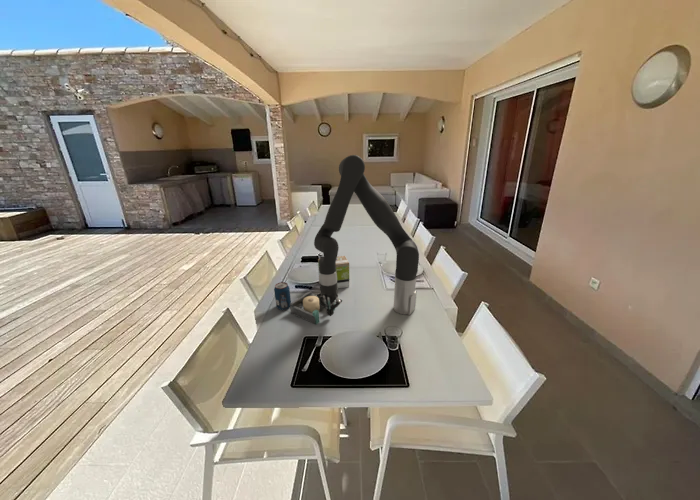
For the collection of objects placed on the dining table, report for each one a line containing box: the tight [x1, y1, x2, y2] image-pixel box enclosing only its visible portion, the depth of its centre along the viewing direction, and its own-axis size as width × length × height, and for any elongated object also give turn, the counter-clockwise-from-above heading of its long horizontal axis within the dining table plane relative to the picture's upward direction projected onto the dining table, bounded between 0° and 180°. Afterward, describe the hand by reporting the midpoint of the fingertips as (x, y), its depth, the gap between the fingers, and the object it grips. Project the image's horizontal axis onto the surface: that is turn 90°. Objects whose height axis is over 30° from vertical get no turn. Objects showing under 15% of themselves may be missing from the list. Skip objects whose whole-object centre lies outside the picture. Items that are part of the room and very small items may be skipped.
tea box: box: [317, 255, 350, 289], centre depth 153 cm, size 15×10×15 cm, turn 105°
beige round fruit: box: [302, 296, 321, 314], centre depth 132 cm, size 7×7×6 cm
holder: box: [289, 291, 336, 326], centre depth 132 cm, size 16×13×6 cm
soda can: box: [273, 281, 292, 311], centre depth 134 cm, size 7×7×12 cm
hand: (330, 314), depth 127 cm, fingers closed
